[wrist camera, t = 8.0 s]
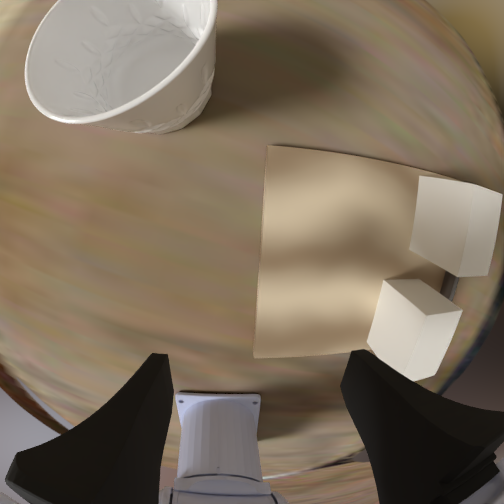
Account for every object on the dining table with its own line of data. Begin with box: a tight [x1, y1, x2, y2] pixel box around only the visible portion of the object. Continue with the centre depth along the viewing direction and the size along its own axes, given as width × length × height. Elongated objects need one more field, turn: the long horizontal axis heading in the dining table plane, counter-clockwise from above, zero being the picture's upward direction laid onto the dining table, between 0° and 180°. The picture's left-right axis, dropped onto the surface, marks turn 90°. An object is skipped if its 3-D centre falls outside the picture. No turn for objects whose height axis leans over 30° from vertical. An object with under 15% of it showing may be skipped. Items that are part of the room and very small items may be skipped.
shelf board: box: [253, 145, 476, 358], centre depth 19 cm, size 16×18×2 cm
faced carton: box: [409, 176, 503, 277], centre depth 16 cm, size 4×6×6 cm
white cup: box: [25, 0, 218, 135], centre depth 11 cm, size 8×8×10 cm
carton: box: [367, 279, 463, 381], centre depth 18 cm, size 4×6×6 cm
